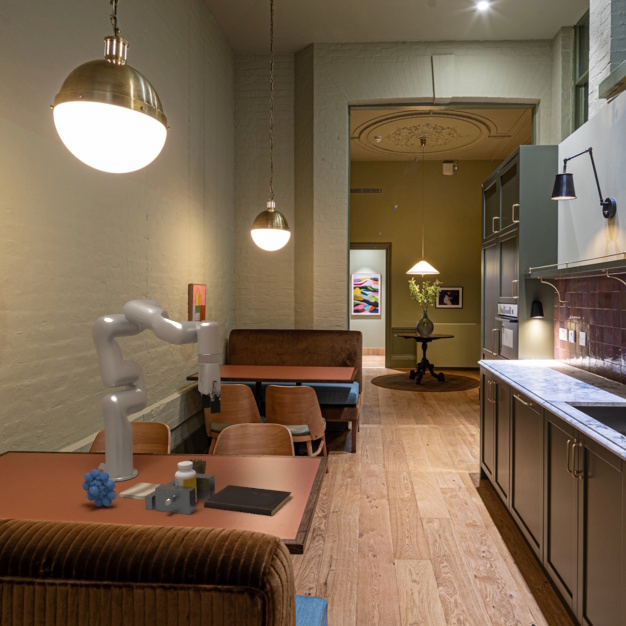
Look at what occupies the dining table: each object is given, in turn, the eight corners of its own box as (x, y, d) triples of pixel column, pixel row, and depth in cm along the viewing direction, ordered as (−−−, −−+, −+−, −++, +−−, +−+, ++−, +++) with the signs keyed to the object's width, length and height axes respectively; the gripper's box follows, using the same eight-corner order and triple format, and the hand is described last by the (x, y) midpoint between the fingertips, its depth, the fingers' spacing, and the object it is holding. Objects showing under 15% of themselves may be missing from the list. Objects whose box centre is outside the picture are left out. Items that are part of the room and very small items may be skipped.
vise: (139, 512, 163) (139, 490, 163) (173, 491, 181) (173, 471, 180) (184, 518, 158) (183, 495, 158) (214, 496, 176) (214, 475, 176)
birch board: (119, 497, 176) (119, 493, 176) (139, 485, 187) (139, 482, 187) (147, 500, 173) (147, 496, 173) (166, 488, 183) (166, 485, 183)
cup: (201, 488, 183) (200, 465, 183) (181, 487, 184) (180, 464, 184) (209, 481, 190) (209, 459, 190) (190, 480, 192) (190, 458, 191)
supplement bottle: (200, 500, 172) (200, 461, 172) (189, 508, 166) (188, 467, 166) (183, 498, 174) (182, 459, 174) (171, 505, 168) (170, 465, 168)
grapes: (74, 510, 165) (73, 472, 165) (88, 502, 172) (87, 465, 172) (108, 513, 163) (107, 474, 163) (120, 504, 170) (119, 467, 169)
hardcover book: (228, 491, 181) (228, 484, 181) (291, 498, 174) (291, 492, 174) (203, 509, 166) (203, 501, 166) (271, 518, 159) (271, 510, 158)
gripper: (190, 357, 182) (192, 407, 183) (206, 362, 167) (208, 416, 167) (211, 356, 186) (213, 404, 186) (229, 360, 171) (230, 413, 171)
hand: (210, 410), depth 177 cm, fingers open, 9 cm apart
